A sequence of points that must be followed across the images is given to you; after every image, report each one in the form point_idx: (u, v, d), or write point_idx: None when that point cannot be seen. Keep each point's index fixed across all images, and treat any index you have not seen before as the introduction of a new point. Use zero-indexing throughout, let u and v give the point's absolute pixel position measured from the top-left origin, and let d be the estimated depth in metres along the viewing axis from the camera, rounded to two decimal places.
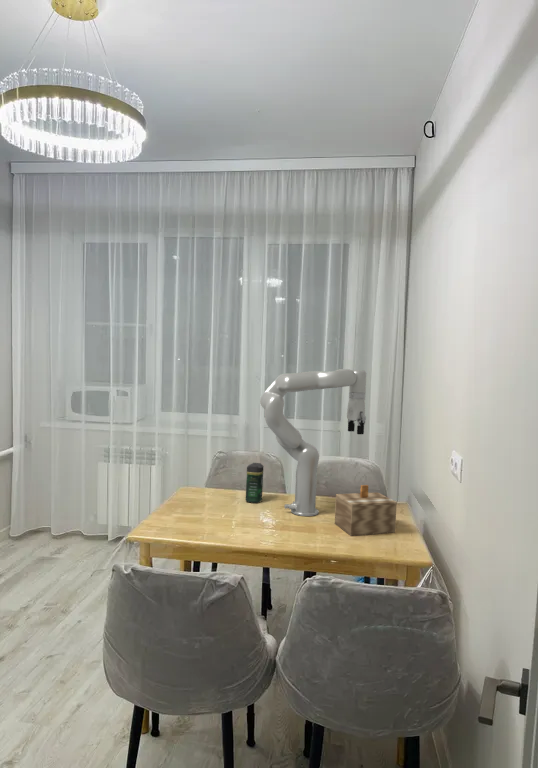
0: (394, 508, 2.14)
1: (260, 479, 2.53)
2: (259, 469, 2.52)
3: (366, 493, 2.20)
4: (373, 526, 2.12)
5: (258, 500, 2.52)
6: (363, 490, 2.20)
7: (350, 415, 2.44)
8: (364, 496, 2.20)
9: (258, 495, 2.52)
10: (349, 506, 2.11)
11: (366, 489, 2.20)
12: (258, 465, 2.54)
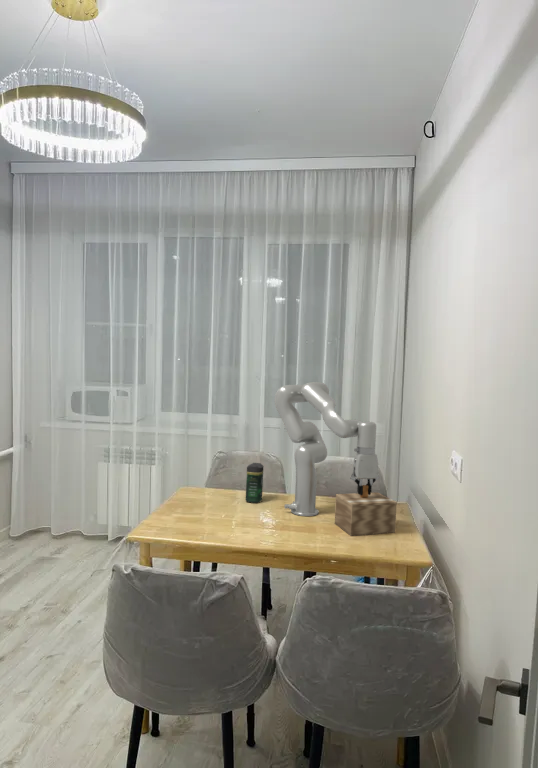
0: (394, 508, 2.14)
1: (260, 479, 2.53)
2: (259, 469, 2.52)
3: (366, 493, 2.20)
4: (373, 526, 2.12)
5: (258, 500, 2.52)
6: (363, 490, 2.20)
7: (367, 473, 2.17)
8: (364, 496, 2.20)
9: (258, 495, 2.52)
10: (349, 506, 2.11)
11: (366, 489, 2.20)
12: (258, 465, 2.54)
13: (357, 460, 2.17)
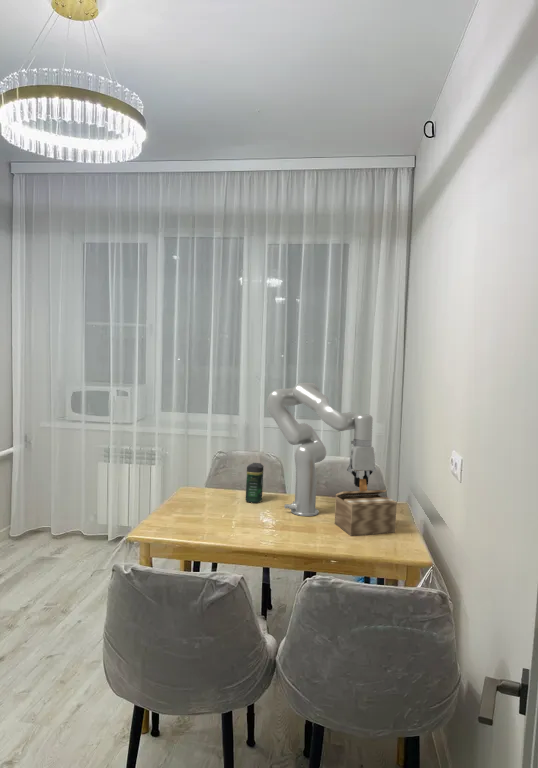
0: (394, 508, 2.14)
1: (260, 479, 2.53)
2: (259, 469, 2.52)
3: (365, 486, 2.21)
4: (373, 526, 2.12)
5: (258, 500, 2.52)
6: (361, 483, 2.21)
7: (364, 465, 2.20)
8: (363, 489, 2.21)
9: (258, 495, 2.52)
10: (349, 506, 2.11)
11: (364, 482, 2.22)
12: (258, 465, 2.54)
13: (354, 452, 2.20)
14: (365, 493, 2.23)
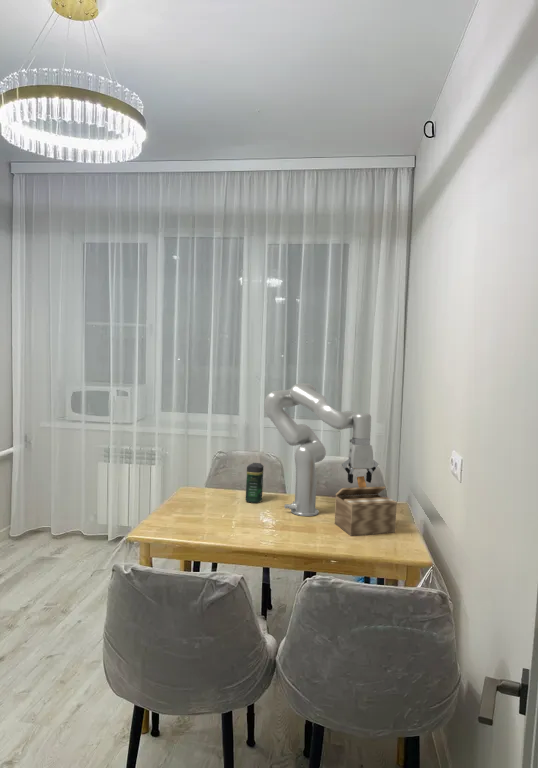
0: (394, 508, 2.14)
1: (260, 479, 2.53)
2: (259, 469, 2.52)
3: (364, 483, 2.22)
4: (373, 526, 2.12)
5: (258, 500, 2.52)
6: (360, 480, 2.23)
7: (362, 464, 2.22)
8: (362, 486, 2.21)
9: (258, 495, 2.52)
10: (349, 506, 2.11)
11: (363, 479, 2.23)
12: (258, 465, 2.54)
13: (352, 451, 2.21)
14: (365, 491, 2.24)
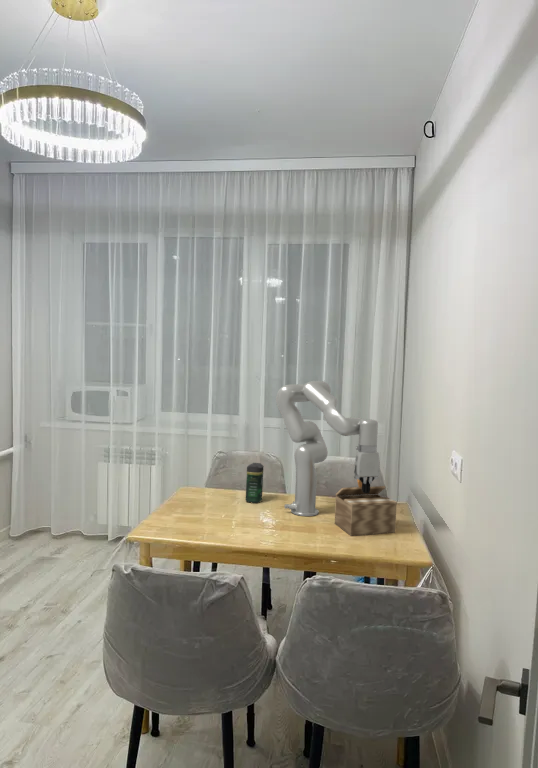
0: (394, 508, 2.14)
1: (260, 479, 2.53)
2: (259, 469, 2.52)
3: None
4: (373, 526, 2.12)
5: (258, 500, 2.52)
6: None
7: (369, 471, 2.16)
8: None
9: (258, 495, 2.52)
10: (349, 506, 2.11)
11: None
12: (258, 465, 2.54)
13: (358, 458, 2.15)
14: None
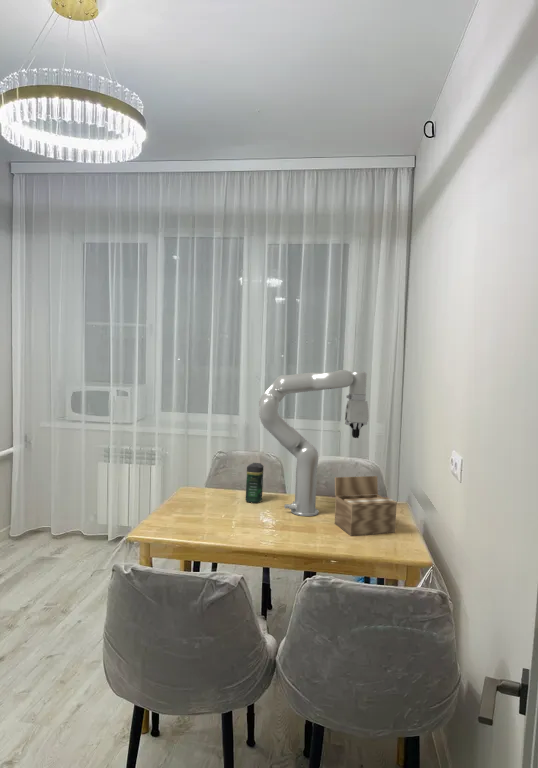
0: (394, 508, 2.14)
1: (260, 479, 2.53)
2: (259, 469, 2.52)
3: None
4: (373, 526, 2.12)
5: (258, 500, 2.52)
6: None
7: (358, 418, 2.37)
8: None
9: (258, 495, 2.52)
10: (349, 506, 2.11)
11: None
12: (258, 465, 2.54)
13: (349, 405, 2.37)
14: (360, 484, 2.28)
